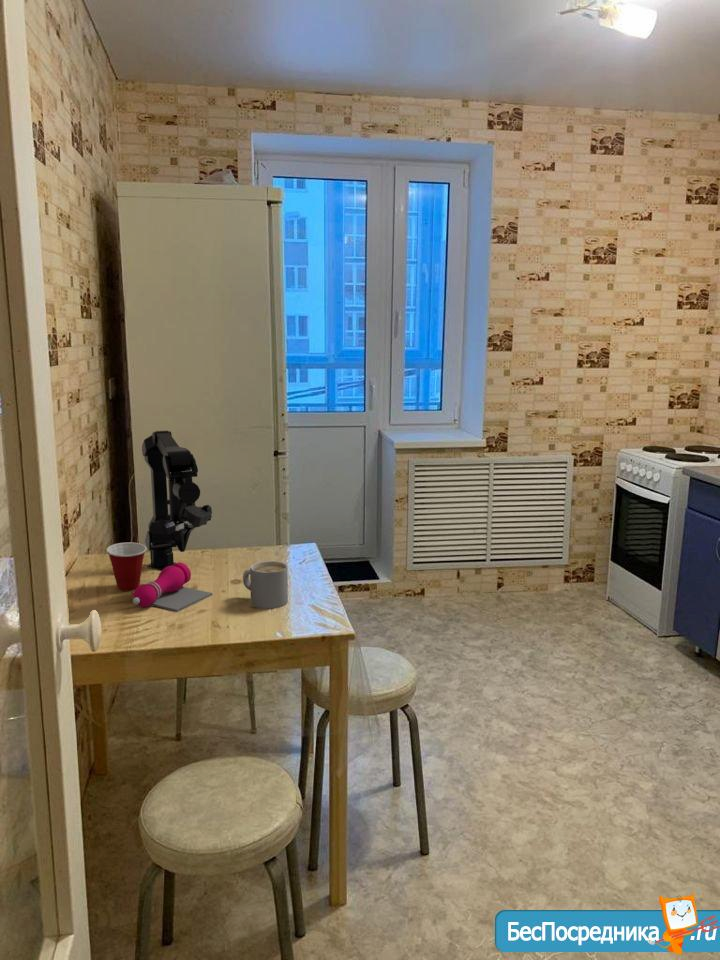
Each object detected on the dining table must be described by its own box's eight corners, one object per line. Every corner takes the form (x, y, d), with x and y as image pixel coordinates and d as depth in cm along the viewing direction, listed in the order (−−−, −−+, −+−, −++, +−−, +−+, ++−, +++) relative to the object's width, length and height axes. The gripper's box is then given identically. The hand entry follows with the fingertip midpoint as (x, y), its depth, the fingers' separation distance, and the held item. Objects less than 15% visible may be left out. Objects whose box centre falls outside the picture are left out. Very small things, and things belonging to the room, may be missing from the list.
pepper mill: (176, 555, 197) (127, 583, 180) (196, 570, 196) (148, 600, 178) (168, 574, 200) (119, 603, 183) (187, 588, 199) (140, 620, 181)
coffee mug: (295, 601, 189) (295, 566, 187) (267, 611, 182) (267, 575, 180) (262, 589, 198) (262, 556, 196) (235, 599, 191) (234, 564, 189)
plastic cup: (124, 597, 191) (121, 555, 189) (101, 589, 197) (98, 548, 195) (156, 586, 200) (154, 546, 197) (133, 578, 206) (131, 539, 204)
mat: (132, 600, 189) (132, 598, 188) (168, 585, 201) (168, 583, 201) (177, 611, 181) (177, 609, 181) (212, 595, 193) (212, 593, 193)
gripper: (178, 506, 178) (181, 565, 181) (225, 493, 194) (226, 547, 197) (146, 501, 183) (149, 558, 186) (194, 488, 199) (196, 541, 202)
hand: (182, 551), depth 192 cm, fingers closed
